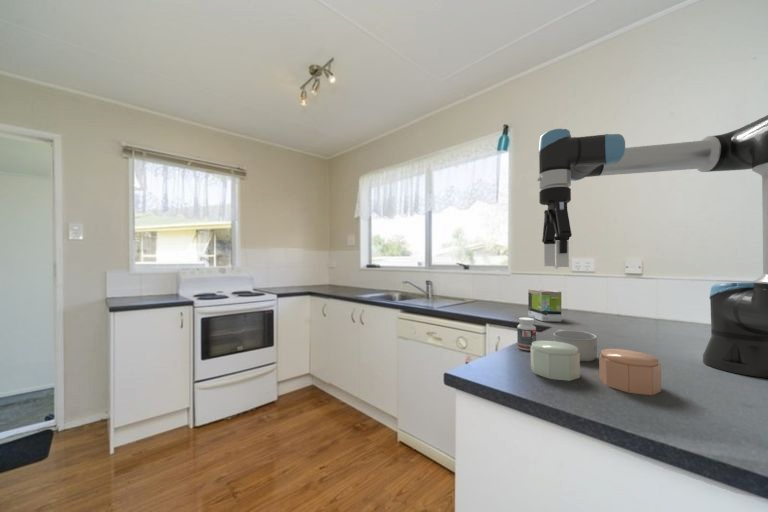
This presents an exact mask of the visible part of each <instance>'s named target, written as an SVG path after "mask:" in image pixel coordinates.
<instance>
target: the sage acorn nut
mask: <svg viewBox="0 0 768 512" xmlns="http://www.w3.org/2000/svg"><path fill="white" fill-rule="evenodd" d="M580 362H581V361H580V354H579V353H578V348H577V347H576V346H574V345H571V344H567V343H562V342H556V341H554V340H536V341H534V342H532V346H531V351H530V369H531V371H532V374H534V375H537V376H541V377H543V378H546V379H549V380H550V379H551V380H558V381H568V382H569V381H573V380H577V379H580V378H581V363H580Z"/></svg>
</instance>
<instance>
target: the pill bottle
mask: <svg viewBox="0 0 768 512" xmlns="http://www.w3.org/2000/svg"><path fill="white" fill-rule="evenodd" d="M518 322H519V324H518V325H516V326H517V327H516V328H517V329H516V330H517V339H516V340H517V343H516V344H517V345H516V346H517V348H518V349H520V350H522V351H530V352H531V346H532V342H534V341H537V327H536V326H535V325H534V324H535V318H532V317H519V318H518Z"/></svg>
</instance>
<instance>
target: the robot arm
mask: <svg viewBox="0 0 768 512" xmlns="http://www.w3.org/2000/svg"><path fill="white" fill-rule="evenodd" d="M538 163H539V164H538V165H539V168H538V169H539V171H538V173H539V177H537V179H536V181H537V182H539V189H540V191H539V192H538V193H539V204H540V205H542V206H547V209H546V210H544V211H543V213H544V216H543V217H544V220H543V229H542V239H541V242H542V243H543V260H544V262H543V265H544V267H556V268H561V267H562V268H569V267H570V262H569V261H570V259H569V258H570V257H569V255H570V254H569V253H570V252H569V251H570V248H569V244H570V243H569V240H570V238H571V237H572V235H573V234H572V229H571V225H570V224H571V223H570V218H569V212H568V211H569V210H568V203H570V202H571V200H572V195H571V194H572V192H571V191H572V189H571V188H570V187H571V185H572V182H573V181H574V182H576V181H580V180H582V179H585V178H591V177H600V176H601V177H603V176H615V175H628V174H630V175H631V174H632V175H633V174H641V173H642V174H643V173H645V174H646V173H657V172H672V171H685V170H698V171H699V172H702V173H709V172H710V173H711V172H724V171H725V172H726V171H727V172H729V171H742V170H743V171H745V170H751V171H752V172H755V173H756V174H758V175H760V176H761V187H762V188H761V192H762V193H761V194H762V197H761V198H762V199H761V200H762V201H761V202H762V203H761V204H762V205H761V206H762V210H761V211H762V275H761V276H760V277H758V278H757V279H755V280H753V281H751V282H742V281H741V282H723V283H715V284H713V285H712V286H711V288H710V291H709V292H710V294H709V301H710V304H709V305H710V329H711V330H710V331H711V333H710V335H711V336H710V339H709V341H708V342H707V345H706V347H705V349H704V351H703V353H702V362H703V363H704V365H707V366H708V367H712V368H714V369H718V370H721V371H724V372H729V373H734V374H738V375H746V376H751V377H757V378H766V379H768V114H767V115H765V116H763V117H761V118H758V119H757V120H755V121H753V122H751V123H749V124H746V125H744V126H742V127H739V128H738V129H734V130H732V131H729V132H726V133H723V134H718V135H717V134H715V135H709V136H705V137H704V138H702V139H701V140H694V141H685V142H684V141H683V142H675V143H664V144H663V143H662V144H653V145H652V144H651V145H641V146H629V147H626V140H625V137H624V136H623V135H622V134H619V133H612V134H611V133H605V134H597V135H589V136H587V135H586V136H585V135H584V136H577V137H576V136H574V137H573V136H572V135H571V131H570V130H569V129H566V128H555V129H550V130H548V131H546V132H544V133H542V135H541V136H540V137H539V145H538Z"/></svg>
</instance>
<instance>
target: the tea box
mask: <svg viewBox="0 0 768 512" xmlns="http://www.w3.org/2000/svg"><path fill="white" fill-rule="evenodd" d="M527 295H528V297H527V298H528V301H527V302H528V315H527V316H528V318H533V319H534V320H538V321H541V322H556V323H557V322H562V315H563V314H562V291H560V290H559V291H558V290H553V289H552V290H551V289H545V288H544V289H543V288H541V289H539V288H537V289H536V288H535V289H532V288H531V289H528V294H527Z"/></svg>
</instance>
